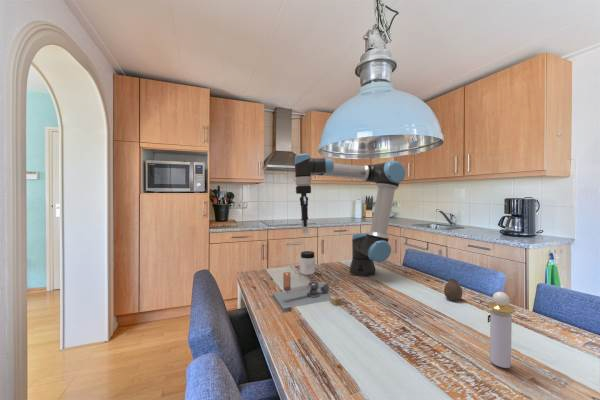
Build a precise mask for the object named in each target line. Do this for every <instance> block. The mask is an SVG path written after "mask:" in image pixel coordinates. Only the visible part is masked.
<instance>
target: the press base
mask: <svg viewBox="0 0 600 400" xmlns="http://www.w3.org/2000/svg"><path fill="white" fill-rule="evenodd" d="M334 295H335V294H334V293H332V292H331V291H330V290H329V291H328V292H323V291H321V287H320V288H318V289H315V290H312V289H311V290H306V291H301V292H296V293H292V294H287V293H286V291H284V290H283V291H279V292H273V293H272V298H273V299H274V301H275V302H276V304H277V306H279V308H280V309H281V311H282V312H283V313H287V312H292V311H293V310H292V309H291V308H294V307H300V306H301V307H302V306H307V305H311V304H319V303H325V302H330V296H334Z"/></svg>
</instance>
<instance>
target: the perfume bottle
mask: <svg viewBox="0 0 600 400" xmlns="http://www.w3.org/2000/svg"><path fill="white" fill-rule="evenodd" d="M487 307H488V308H489V309H491V310H490V311H489V312H490V314H489V315H487V323H489V324H490V325H489V327H490V328H489V329H490V330H489V361H490V362H491V363H492V364H494V365H495V366H497V367H499V368H503V369H509V368H511V367H512V332H513V331H512V330H513V329H512V326H513V325H512V323H513V322H512V319H513V317H512V314H513V313H515V312H516V310H515V307H514V306H512V305H510V297H509V295H508V294H507V293H506V292H503V291H495V292H494V294H493V295H492V301H489V302H487Z"/></svg>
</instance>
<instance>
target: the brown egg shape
mask: <svg viewBox="0 0 600 400" xmlns="http://www.w3.org/2000/svg"><path fill="white" fill-rule="evenodd" d="M443 292H444V296H445V298H446V299H447V300H448V299H449V301H450V300H452V301H451V302H459V301H460V300H461V299H462V298H463V288H462V286H461V285H460V284H459V283H458V281H457V279H455V278H450V279H449V281H448V282H447V283H446V284H445V286H444V290H443Z"/></svg>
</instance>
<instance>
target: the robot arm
mask: <svg viewBox="0 0 600 400" xmlns="http://www.w3.org/2000/svg"><path fill="white" fill-rule="evenodd" d="M294 172H295V173H294V174H295V175H294V176H295V178H294V182H295V185H296V187H295V194H296V195H300V197H299V202H300V211H301V219H300V221H301V225H302V226H301V227H302V228H301V230H302V234H309V227H308V226H309V223H308V220H309V214H308V213H309V211H308V206H309V205H308V204H309V202H308V201H309V197H308V196H307V194H312V186H311V185H312V179H311V176H320V177H323V176H324V177H331V178H332V177H333V178H335V177H336V178H346V179H356V180H361V181H362V182H367V183H375V185H376V187H377V188H378V189H377V194H376V199H375V205H374V209H373V214H372V220H371V225H370V230H369V231H367V232H366V233H354V234H353V235H352V239H351V243H352V244H351V247H352V249H351V251H352V253H351V254H352V259H351V262H350V265H349V268H348V269H349V273H350V274H351V275H354V276H360V277H371V276H375V275H376V273H377V272H376V271H377V270H376V269H377V268H376V267H375V266H376V265H375V263H382V262H385V261H386V260H387V259H388V258H389V257H390V256H391V253H392V248H391V245H390V242H389V239H390V237H389V236H388V228H389V224H390V218H391V212H392V207H393V201H394V198H395V191H396V190H398V189H399V186H400V183H401V182H403V180H404V179H405V177H406V169H405V167H404V165H403V164H402V163H401V162H399V161H397V160H389V161H385V162H379V163H376V164H364V165H355V164H353V165H352V164H344V163H337V162H336V163H334V160H333V159H332V158H330V157H329V158H328V157H321V158H320V157H318V158H317V157H315V158H314V157H313V158H312V157H311V156H310V154H309V153H299V154H296V155H295V156H294Z"/></svg>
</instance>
